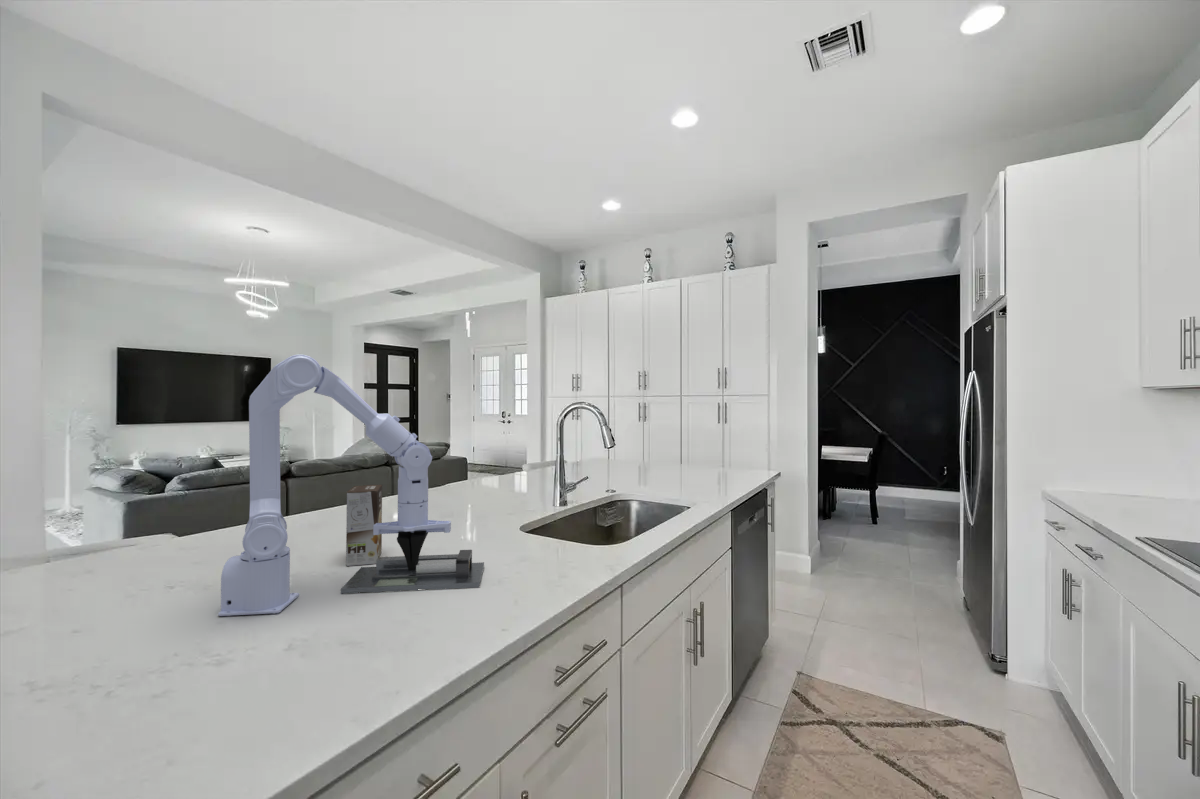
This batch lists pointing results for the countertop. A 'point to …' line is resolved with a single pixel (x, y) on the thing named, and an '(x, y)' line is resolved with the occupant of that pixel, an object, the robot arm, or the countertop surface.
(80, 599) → the countertop surface
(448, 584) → the heatsink base
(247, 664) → the countertop surface
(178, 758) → the countertop surface
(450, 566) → the rectangular block
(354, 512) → the coffee box
